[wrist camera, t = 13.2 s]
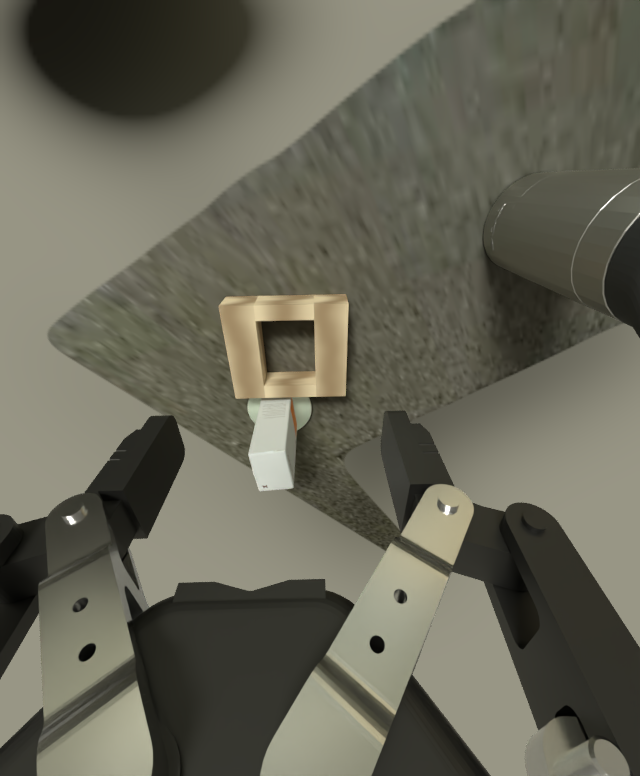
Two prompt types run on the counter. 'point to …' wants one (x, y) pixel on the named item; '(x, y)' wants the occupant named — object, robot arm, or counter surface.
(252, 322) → the pocket block
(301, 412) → the coaster
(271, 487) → the skincare box
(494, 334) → the counter surface
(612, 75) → the counter surface
